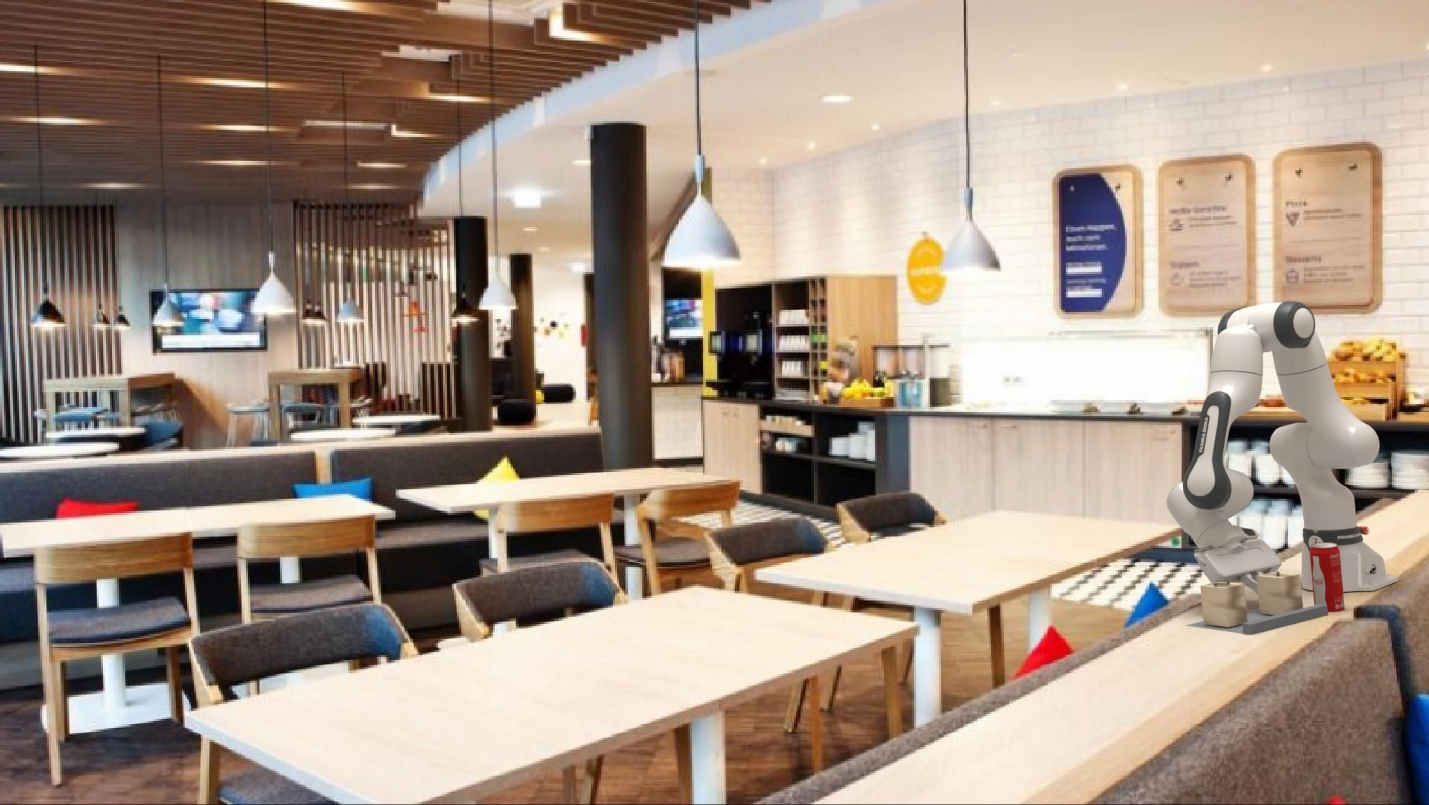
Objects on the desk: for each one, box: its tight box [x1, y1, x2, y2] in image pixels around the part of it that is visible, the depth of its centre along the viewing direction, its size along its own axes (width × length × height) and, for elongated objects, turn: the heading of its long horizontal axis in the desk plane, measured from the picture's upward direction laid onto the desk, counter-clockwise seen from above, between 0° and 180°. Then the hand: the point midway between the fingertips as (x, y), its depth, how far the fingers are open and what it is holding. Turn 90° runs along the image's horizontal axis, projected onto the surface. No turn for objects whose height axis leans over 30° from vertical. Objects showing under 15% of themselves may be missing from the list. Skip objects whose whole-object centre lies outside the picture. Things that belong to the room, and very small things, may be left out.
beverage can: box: [1310, 542, 1346, 613], centre depth 257 cm, size 6×6×15 cm
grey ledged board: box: [1185, 604, 1329, 636], centre depth 254 cm, size 24×16×3 cm, turn 119°
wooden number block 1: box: [1256, 570, 1304, 615], centre depth 257 cm, size 6×6×8 cm
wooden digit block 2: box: [1199, 581, 1248, 627], centre depth 252 cm, size 6×6×8 cm
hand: (1264, 592), depth 261 cm, fingers closed, pressing on wooden number block 1
